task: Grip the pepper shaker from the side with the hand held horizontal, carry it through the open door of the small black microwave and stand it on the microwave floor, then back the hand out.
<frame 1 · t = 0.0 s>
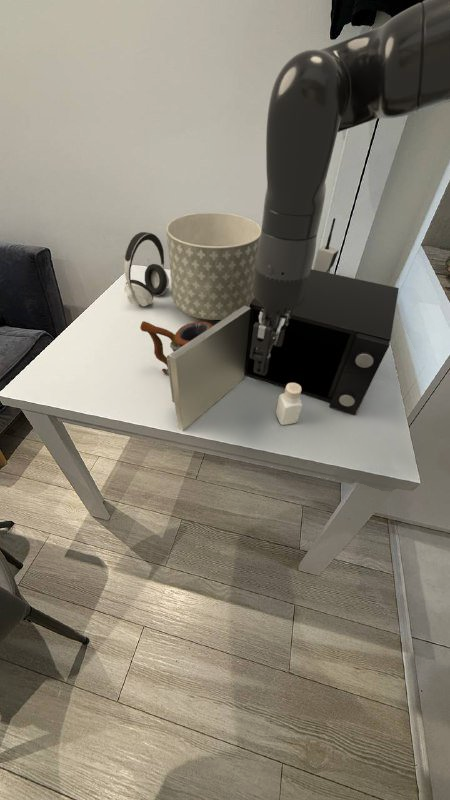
hand: (268, 358, 56), 20 cm above the table, tool pointing down, fingers open, 8 cm apart
headphones: (150, 299, 106), on the table
vintage mobile phone: (315, 301, 109), on the table
microwave door: (206, 365, 69), point 10 cm above the table, hinge at 105.0°
pepper shaker: (285, 418, 73), on the table
planter: (213, 309, 103), on the table
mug: (183, 377, 81), on the table
microwave: (308, 365, 85), on the table
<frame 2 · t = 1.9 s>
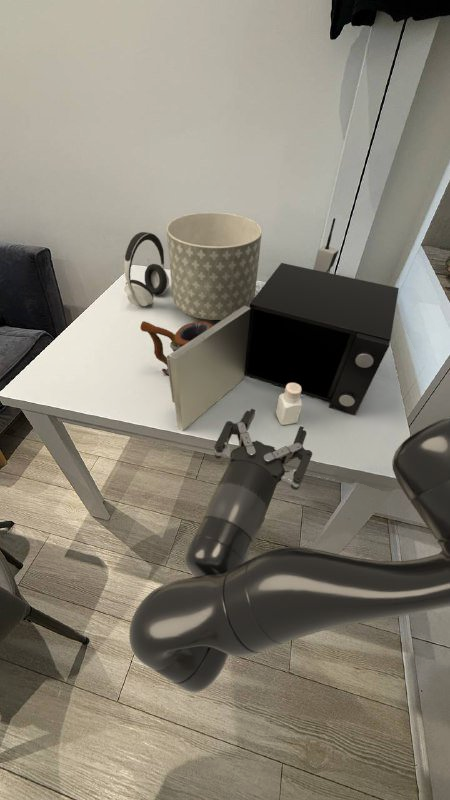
hand: (276, 420, 55), 13 cm above the table, tool horizontal, fingers open, 8 cm apart
nothing on the table moved.
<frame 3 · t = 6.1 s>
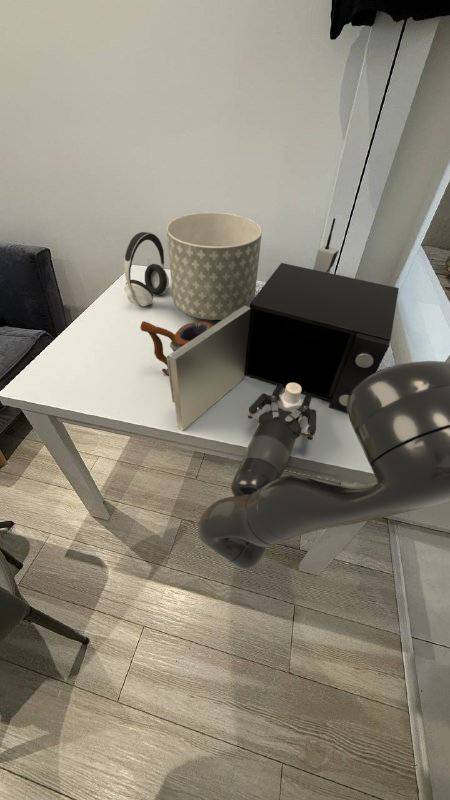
hand: (294, 391, 70), 6 cm above the table, tool horizontal, fingers closed on pepper shaker, 5 cm apart
pepper shaker: (285, 418, 73), on the table, touching gripper
everything else where it was.
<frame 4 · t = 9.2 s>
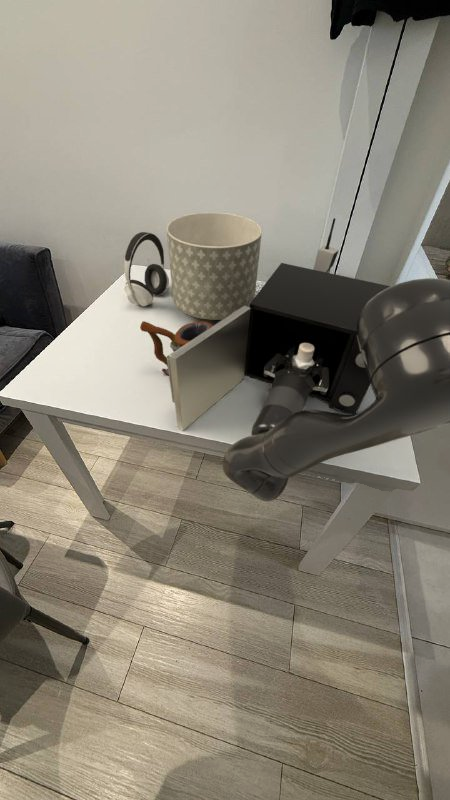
hand: (306, 353, 74), 10 cm above the table, tool horizontal, fingers closed on pepper shaker, 5 cm apart
pepper shaker: (298, 380, 76), point 3 cm above the table, touching gripper
everything else where it was.
when the fingers open (7 cm above the table, at t = 12.5 s): pepper shaker stays where it is, resting on microwave.
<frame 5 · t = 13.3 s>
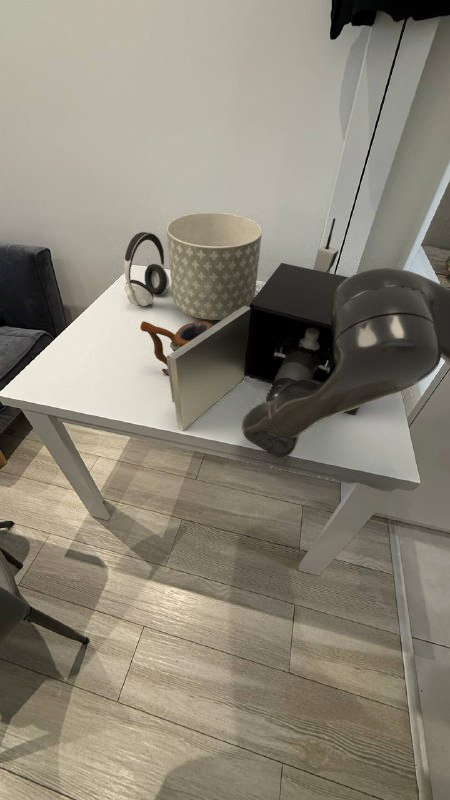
hand: (312, 337, 81), 8 cm above the table, tool horizontal, fingers open, 8 cm apart
pepper shaker: (304, 362, 85), point 1 cm above the table, touching microwave
everything else where it was.
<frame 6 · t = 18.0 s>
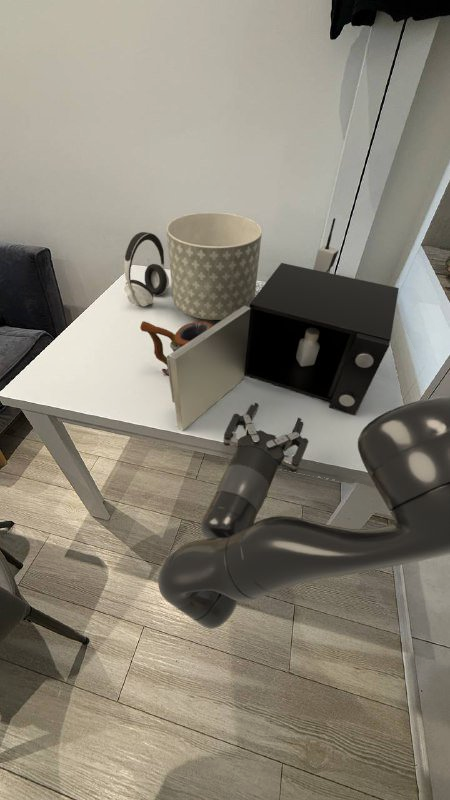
hand: (277, 413, 63), 8 cm above the table, tool horizontal, fingers open, 8 cm apart
nothing on the table moved.
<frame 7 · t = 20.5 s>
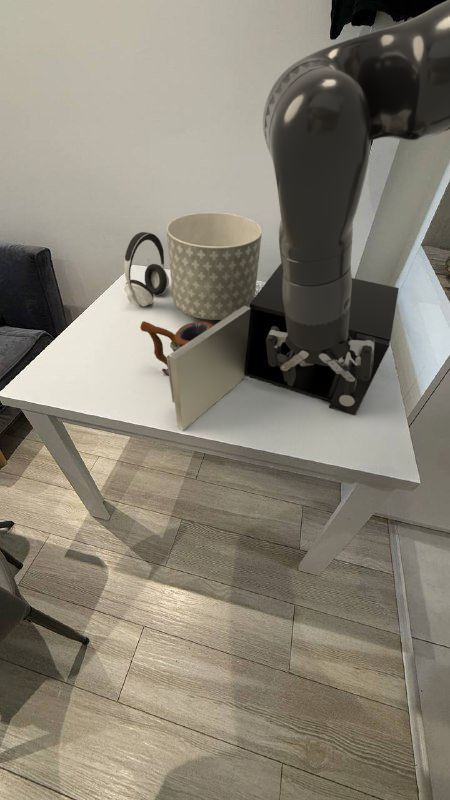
hand: (318, 386, 51), 20 cm above the table, tool tilted 15°, fingers open, 8 cm apart
nothing on the table moved.
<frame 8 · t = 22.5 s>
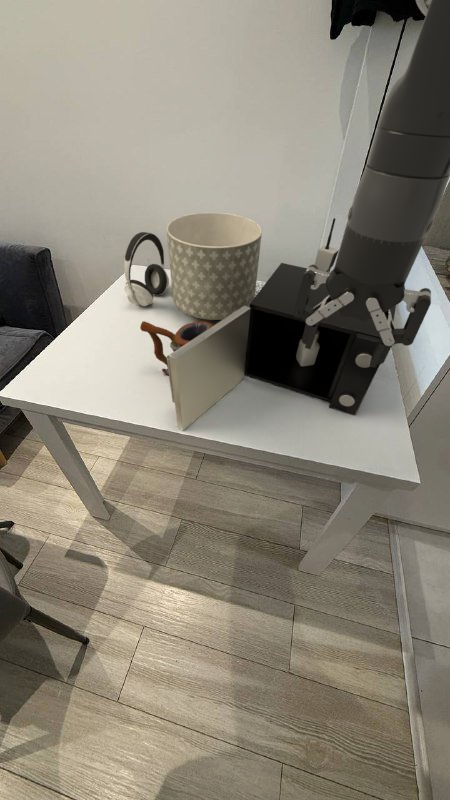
hand: (339, 354, 44), 28 cm above the table, tool pointing down, fingers open, 8 cm apart
nothing on the table moved.
at the end: pepper shaker inside the target area in the microwave (0.9 cm from its centre), point 0.8 cm above the microwave's base; pepper shaker tilted 0°; the gripper is holding nothing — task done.
